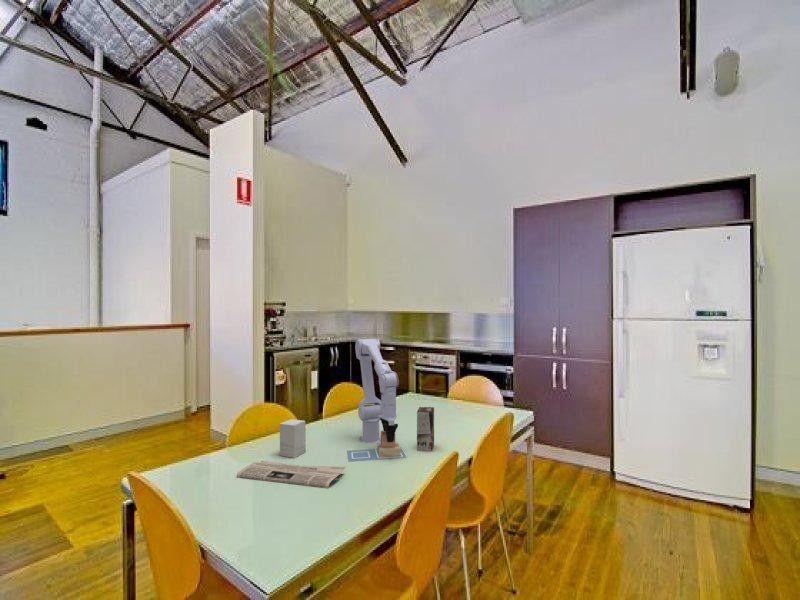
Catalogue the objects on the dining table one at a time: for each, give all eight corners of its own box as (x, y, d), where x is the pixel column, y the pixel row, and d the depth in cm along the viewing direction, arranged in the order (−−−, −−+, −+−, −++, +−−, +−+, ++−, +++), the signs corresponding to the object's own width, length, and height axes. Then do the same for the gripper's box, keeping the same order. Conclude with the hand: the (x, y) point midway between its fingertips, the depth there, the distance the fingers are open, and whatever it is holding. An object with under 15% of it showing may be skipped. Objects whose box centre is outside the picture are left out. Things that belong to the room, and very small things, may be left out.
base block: (377, 450, 165) (377, 442, 165) (396, 449, 166) (396, 441, 166) (379, 457, 157) (379, 449, 157) (400, 456, 158) (400, 448, 158)
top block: (380, 443, 164) (380, 431, 164) (393, 443, 165) (393, 430, 165) (382, 448, 159) (382, 435, 159) (395, 447, 160) (395, 434, 160)
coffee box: (432, 453, 163) (432, 412, 164) (416, 452, 164) (416, 411, 165) (434, 445, 172) (434, 406, 173) (419, 444, 173) (419, 406, 174)
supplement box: (306, 452, 164) (306, 420, 165) (294, 458, 158) (294, 425, 158) (291, 449, 168) (291, 418, 168) (279, 455, 161) (279, 423, 161)
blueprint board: (346, 452, 165) (346, 450, 165) (400, 448, 169) (400, 447, 169) (348, 463, 153) (348, 461, 153) (406, 459, 157) (406, 457, 157)
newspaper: (236, 478, 140) (236, 468, 140) (258, 465, 152) (258, 455, 152) (332, 490, 131) (332, 479, 131) (347, 475, 143) (347, 464, 143)
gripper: (376, 400, 168) (376, 433, 168) (381, 408, 154) (381, 445, 154) (393, 399, 170) (393, 432, 169) (399, 408, 155) (399, 444, 155)
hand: (388, 438), depth 162 cm, fingers open, 7 cm apart
